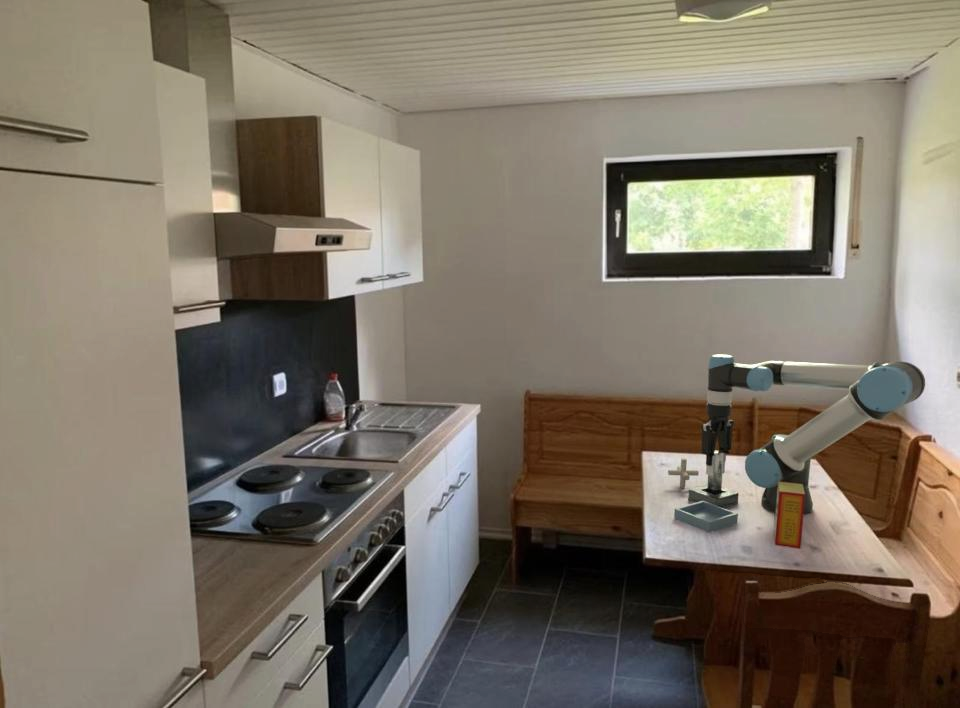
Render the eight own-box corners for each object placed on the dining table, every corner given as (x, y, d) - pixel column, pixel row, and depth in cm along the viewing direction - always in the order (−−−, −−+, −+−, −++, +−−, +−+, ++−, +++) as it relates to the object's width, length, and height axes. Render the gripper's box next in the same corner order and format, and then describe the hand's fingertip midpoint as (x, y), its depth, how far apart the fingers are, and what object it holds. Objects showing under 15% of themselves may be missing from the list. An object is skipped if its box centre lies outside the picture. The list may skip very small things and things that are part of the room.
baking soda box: (773, 532, 211) (778, 479, 208) (798, 535, 209) (802, 482, 206) (775, 545, 202) (779, 490, 200) (800, 548, 200) (805, 493, 197)
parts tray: (737, 523, 217) (738, 513, 217) (708, 532, 210) (709, 522, 210) (702, 510, 228) (702, 500, 227) (674, 518, 221) (674, 508, 220)
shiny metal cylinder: (724, 488, 235) (726, 452, 233) (715, 491, 232) (717, 455, 230) (713, 484, 238) (715, 449, 236) (704, 487, 236) (706, 451, 234)
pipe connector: (701, 492, 245) (702, 463, 243) (671, 491, 245) (672, 463, 243) (693, 482, 255) (694, 454, 253) (664, 481, 255) (666, 454, 253)
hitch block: (737, 503, 235) (738, 492, 234) (715, 509, 229) (716, 499, 228) (710, 493, 244) (710, 483, 243) (688, 499, 238) (688, 489, 237)
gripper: (726, 397, 239) (722, 466, 242) (691, 404, 229) (688, 475, 233) (746, 402, 233) (741, 472, 236) (710, 408, 223) (707, 481, 227)
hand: (715, 473), depth 234 cm, fingers closed on shiny metal cylinder, 4 cm apart
